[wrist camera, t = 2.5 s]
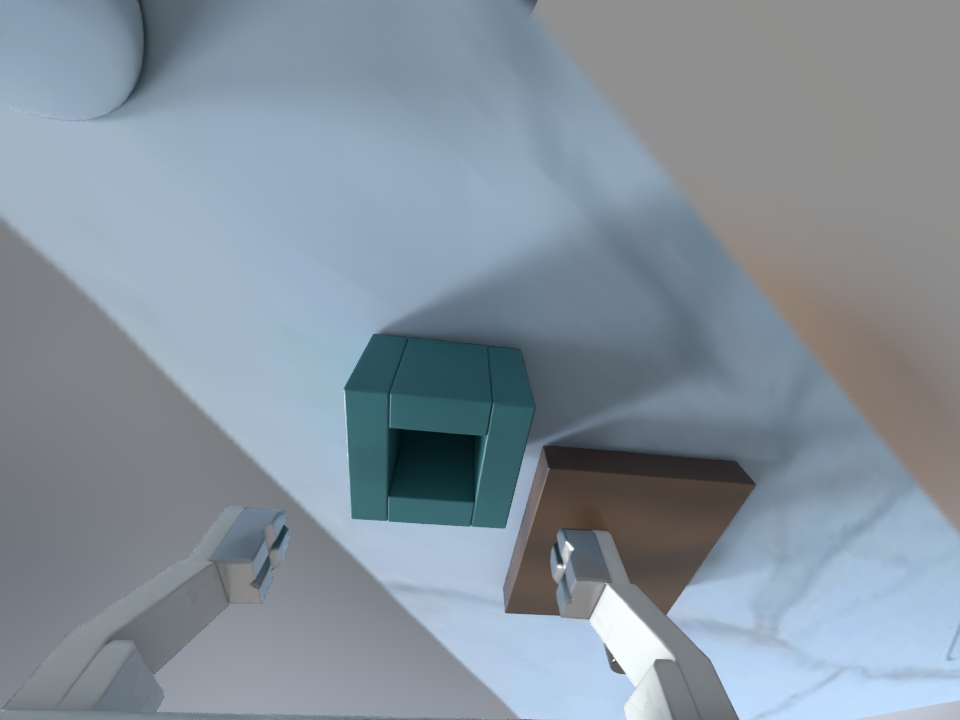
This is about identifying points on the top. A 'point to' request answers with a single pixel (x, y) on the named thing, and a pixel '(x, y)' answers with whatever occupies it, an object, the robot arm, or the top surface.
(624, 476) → the base pad
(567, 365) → the top surface
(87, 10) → the beer glass
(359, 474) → the teal hollow square block
